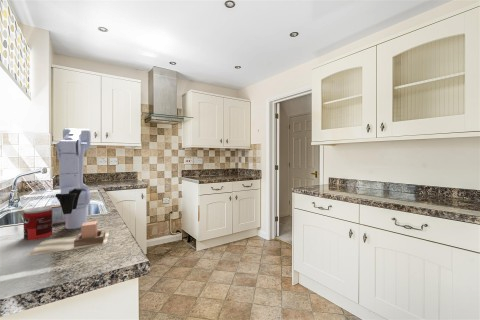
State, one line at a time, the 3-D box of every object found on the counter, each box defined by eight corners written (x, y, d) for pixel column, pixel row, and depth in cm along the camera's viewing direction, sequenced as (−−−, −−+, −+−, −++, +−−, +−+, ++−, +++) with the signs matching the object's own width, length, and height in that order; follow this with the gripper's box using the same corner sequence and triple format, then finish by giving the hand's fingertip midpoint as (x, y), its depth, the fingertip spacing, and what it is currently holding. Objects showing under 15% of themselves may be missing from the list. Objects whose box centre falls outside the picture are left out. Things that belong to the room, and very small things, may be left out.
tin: (74, 219, 108) (73, 202, 108) (76, 221, 106) (75, 203, 106) (31, 227, 97) (31, 207, 96) (33, 229, 95) (32, 209, 94)
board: (43, 243, 79) (43, 234, 79) (109, 234, 88) (109, 226, 88) (27, 259, 67) (26, 249, 67) (106, 247, 75) (105, 238, 75)
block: (84, 239, 79) (83, 222, 79) (97, 237, 81) (97, 221, 81) (81, 243, 76) (81, 225, 76) (95, 241, 78) (95, 224, 77)
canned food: (30, 236, 86) (29, 207, 85) (56, 234, 88) (55, 205, 88) (19, 244, 78) (18, 212, 78) (47, 241, 81) (46, 210, 81)
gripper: (61, 172, 86) (61, 208, 86) (48, 175, 73) (49, 217, 73) (83, 172, 89) (84, 206, 89) (75, 174, 76) (76, 214, 76)
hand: (70, 211), depth 82 cm, fingers open, 7 cm apart
